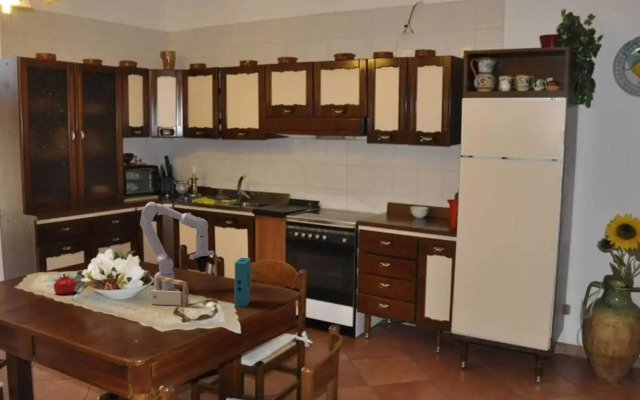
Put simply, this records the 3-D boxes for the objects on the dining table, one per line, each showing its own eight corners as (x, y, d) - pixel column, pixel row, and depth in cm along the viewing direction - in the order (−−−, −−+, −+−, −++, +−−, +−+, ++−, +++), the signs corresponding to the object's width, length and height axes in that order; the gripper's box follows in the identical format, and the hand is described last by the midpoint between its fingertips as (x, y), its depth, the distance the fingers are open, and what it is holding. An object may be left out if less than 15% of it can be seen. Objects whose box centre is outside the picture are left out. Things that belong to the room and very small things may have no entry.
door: (150, 304, 270) (150, 291, 269) (151, 303, 272) (151, 290, 271) (183, 306, 269) (183, 292, 268) (184, 304, 271) (184, 291, 270)
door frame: (156, 299, 279) (156, 276, 278) (159, 298, 281) (159, 275, 279) (185, 307, 268) (185, 282, 267) (188, 306, 270) (188, 282, 269)
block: (245, 307, 269) (245, 263, 267) (234, 307, 270) (234, 263, 268) (250, 300, 281) (251, 258, 279) (240, 299, 282) (240, 257, 280)
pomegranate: (71, 296, 282) (70, 277, 281) (50, 295, 282) (49, 276, 281) (80, 290, 292) (79, 271, 291) (59, 289, 292) (59, 271, 291)
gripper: (196, 247, 286) (196, 275, 288) (218, 243, 298) (218, 270, 300) (186, 245, 290) (186, 273, 292) (208, 241, 302) (208, 268, 304)
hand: (202, 271), depth 296 cm, fingers closed
